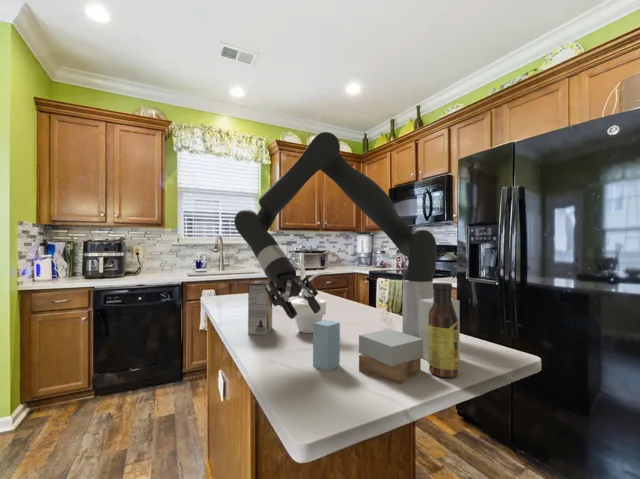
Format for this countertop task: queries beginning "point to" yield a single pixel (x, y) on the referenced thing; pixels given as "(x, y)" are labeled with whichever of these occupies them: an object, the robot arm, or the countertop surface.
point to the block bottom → (389, 369)
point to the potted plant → (307, 307)
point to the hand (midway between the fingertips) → (306, 314)
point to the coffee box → (259, 308)
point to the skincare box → (424, 321)
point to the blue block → (326, 344)
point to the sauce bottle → (443, 333)
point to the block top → (391, 347)
